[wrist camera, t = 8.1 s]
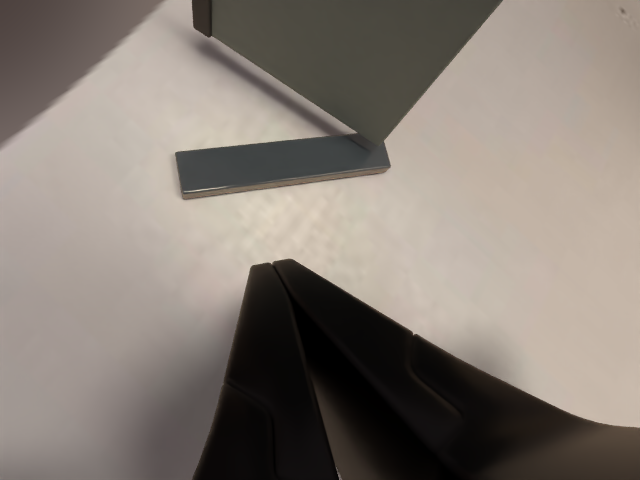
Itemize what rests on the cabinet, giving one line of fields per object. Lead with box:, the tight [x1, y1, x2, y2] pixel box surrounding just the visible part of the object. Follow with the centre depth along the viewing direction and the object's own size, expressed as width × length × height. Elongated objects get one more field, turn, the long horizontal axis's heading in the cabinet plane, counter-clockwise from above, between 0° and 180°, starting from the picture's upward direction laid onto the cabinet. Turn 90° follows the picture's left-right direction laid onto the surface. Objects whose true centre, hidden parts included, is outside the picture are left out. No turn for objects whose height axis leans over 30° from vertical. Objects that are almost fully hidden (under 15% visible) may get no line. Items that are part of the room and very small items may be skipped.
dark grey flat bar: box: [175, 133, 391, 199], centre depth 16 cm, size 2×8×1 cm, turn 104°
